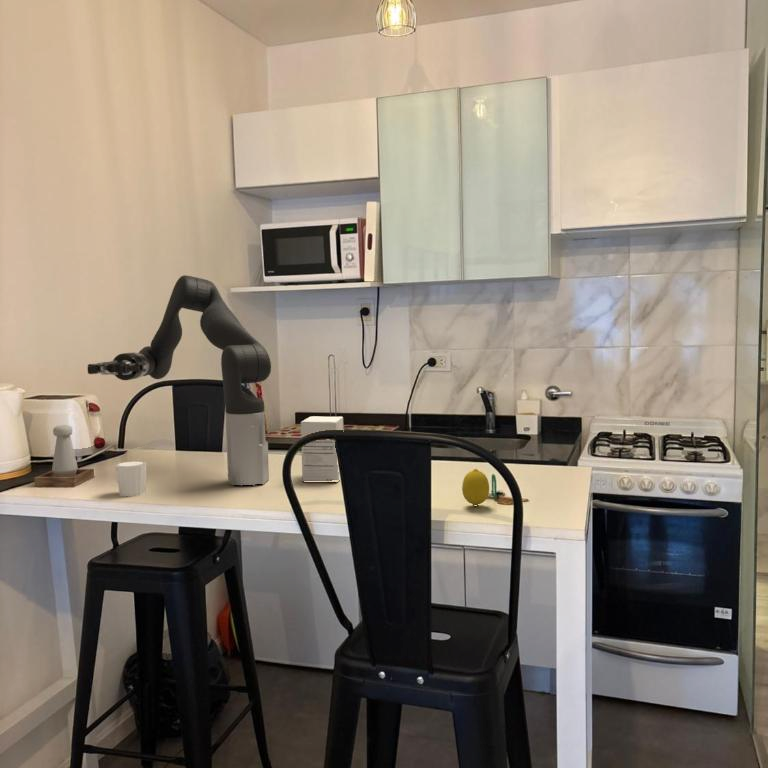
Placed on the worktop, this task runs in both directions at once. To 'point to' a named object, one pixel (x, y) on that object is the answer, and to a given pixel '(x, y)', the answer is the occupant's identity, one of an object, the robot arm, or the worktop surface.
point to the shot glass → (131, 477)
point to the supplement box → (320, 450)
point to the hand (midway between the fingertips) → (105, 369)
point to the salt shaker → (64, 453)
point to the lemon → (475, 487)
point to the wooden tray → (63, 479)
